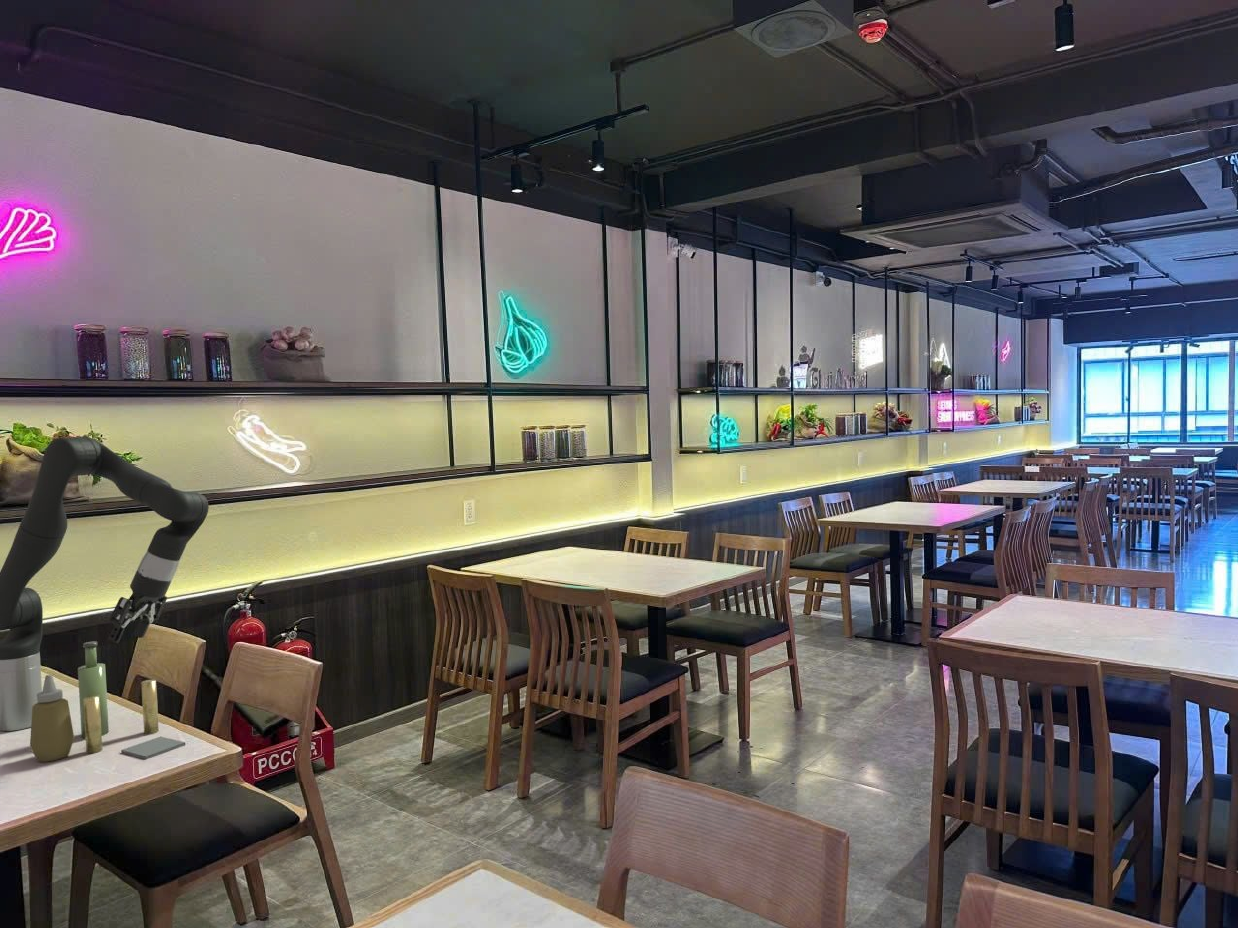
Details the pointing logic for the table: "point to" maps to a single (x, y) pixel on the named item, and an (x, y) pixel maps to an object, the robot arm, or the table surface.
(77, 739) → the table surface
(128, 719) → the table surface
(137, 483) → the robot arm
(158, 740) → the grey coaster
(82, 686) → the olive bottle
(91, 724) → the brass rod
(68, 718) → the squeeze bottle
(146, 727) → the brass rod
